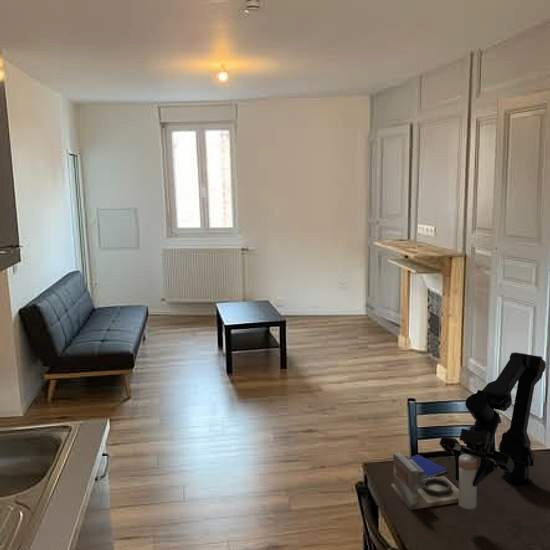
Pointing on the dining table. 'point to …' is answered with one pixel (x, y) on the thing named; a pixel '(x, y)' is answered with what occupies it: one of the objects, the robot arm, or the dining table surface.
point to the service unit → (420, 485)
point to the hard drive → (428, 466)
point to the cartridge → (467, 481)
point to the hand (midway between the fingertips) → (465, 483)
